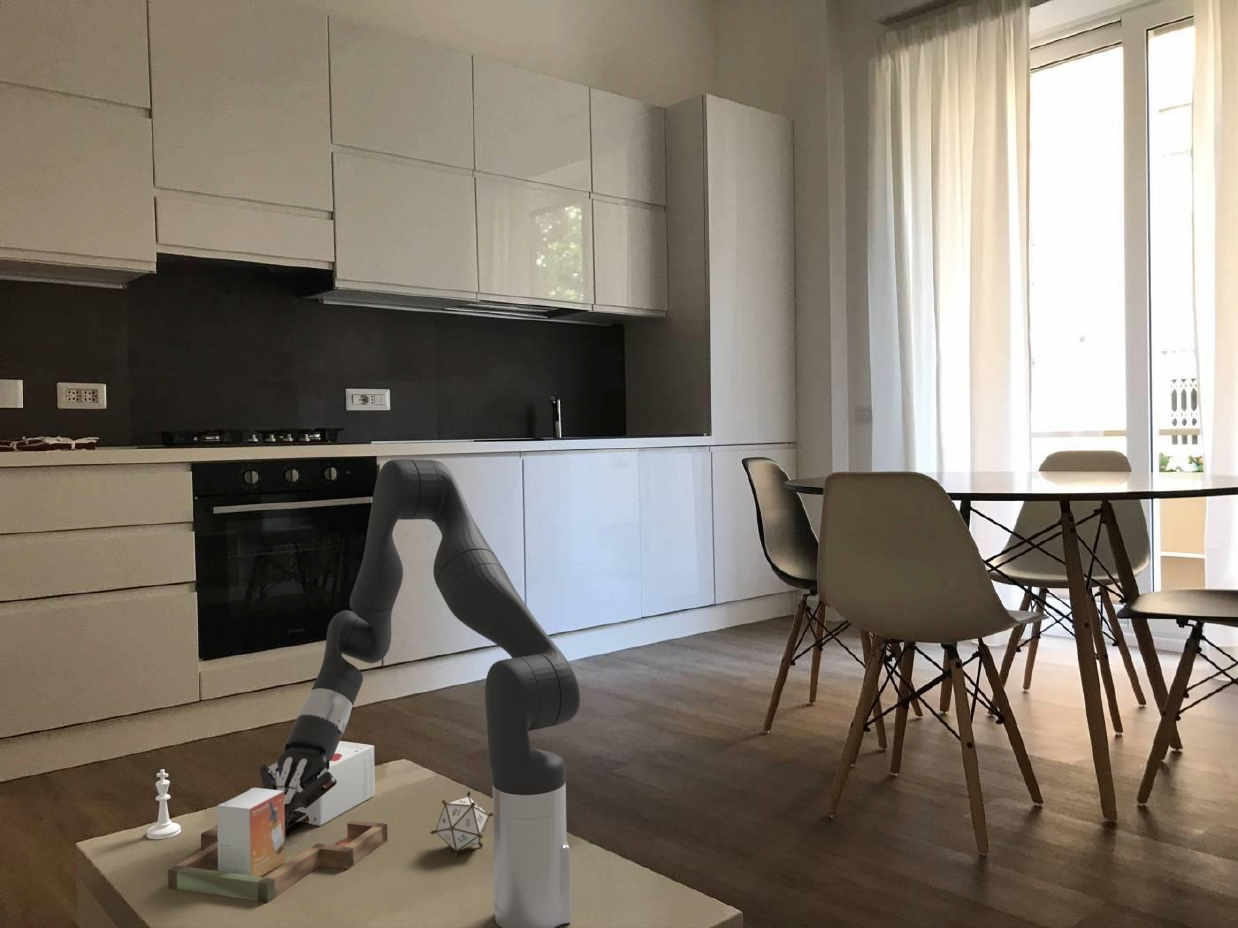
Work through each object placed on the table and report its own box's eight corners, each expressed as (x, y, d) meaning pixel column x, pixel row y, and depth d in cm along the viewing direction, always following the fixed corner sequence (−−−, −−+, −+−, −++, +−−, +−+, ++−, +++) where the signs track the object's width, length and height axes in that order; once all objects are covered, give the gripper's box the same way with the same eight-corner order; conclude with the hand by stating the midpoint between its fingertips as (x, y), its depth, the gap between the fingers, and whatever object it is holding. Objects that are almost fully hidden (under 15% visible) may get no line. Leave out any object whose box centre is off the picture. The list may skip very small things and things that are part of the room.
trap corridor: (248, 823, 164) (248, 807, 164) (387, 839, 157) (387, 823, 156) (141, 883, 142) (141, 865, 142) (297, 906, 135) (296, 887, 135)
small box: (250, 884, 141) (248, 809, 141) (217, 879, 143) (215, 804, 143) (287, 861, 149) (285, 789, 149) (254, 857, 151) (253, 786, 150)
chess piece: (169, 840, 158) (167, 775, 157) (139, 838, 158) (138, 774, 158) (187, 827, 163) (186, 765, 162) (158, 826, 163) (157, 764, 163)
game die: (451, 877, 152) (409, 829, 150) (471, 837, 159) (431, 791, 157) (495, 857, 148) (452, 808, 146) (513, 816, 156) (472, 769, 154)
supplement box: (375, 744, 176) (320, 771, 162) (376, 795, 176) (320, 827, 162) (331, 738, 179) (273, 764, 165) (332, 788, 179) (274, 819, 165)
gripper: (273, 709, 161) (222, 815, 150) (347, 715, 157) (301, 825, 145) (294, 733, 166) (247, 837, 155) (366, 740, 162) (323, 847, 151)
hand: (273, 831), depth 150 cm, fingers closed
